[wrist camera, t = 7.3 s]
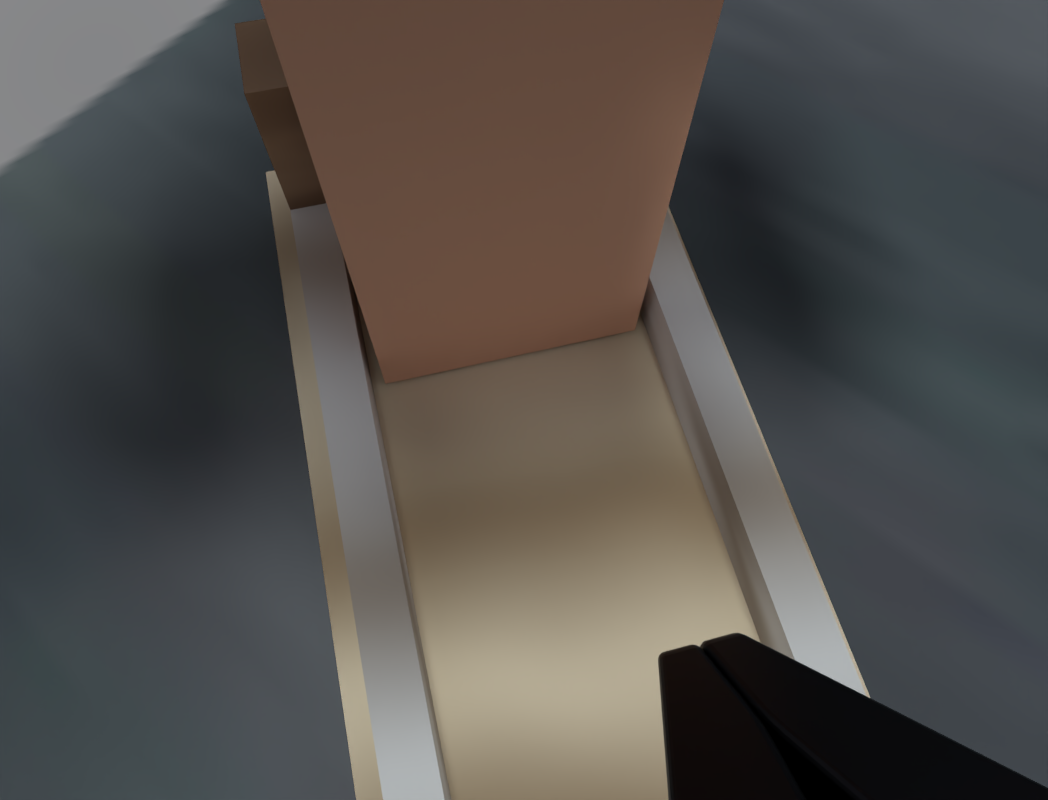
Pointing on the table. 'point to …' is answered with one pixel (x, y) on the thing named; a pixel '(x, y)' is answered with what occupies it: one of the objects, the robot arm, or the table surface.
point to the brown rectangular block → (494, 161)
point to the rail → (527, 523)
